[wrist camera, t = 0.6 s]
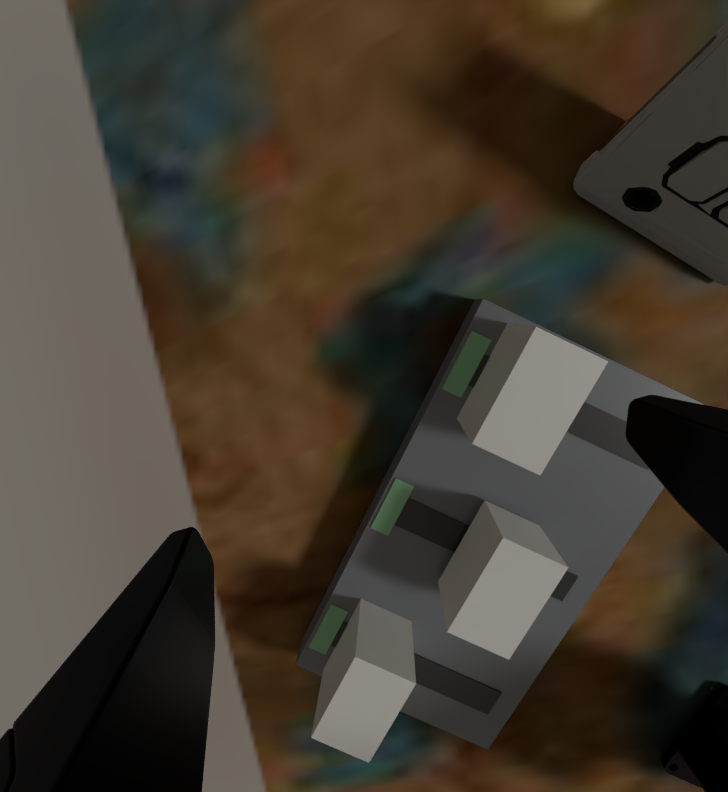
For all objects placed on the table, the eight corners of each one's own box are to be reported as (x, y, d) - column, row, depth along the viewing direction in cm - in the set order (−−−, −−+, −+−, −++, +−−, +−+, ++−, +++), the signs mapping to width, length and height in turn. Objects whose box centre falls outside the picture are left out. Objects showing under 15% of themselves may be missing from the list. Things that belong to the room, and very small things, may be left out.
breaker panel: (686, 401, 22) (793, 434, 16) (480, 716, 26) (506, 831, 21) (474, 299, 21) (506, 296, 16) (302, 638, 26) (277, 732, 20)
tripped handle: (539, 525, 21) (568, 567, 18) (490, 605, 22) (509, 659, 19) (484, 500, 21) (503, 537, 18) (437, 581, 22) (447, 632, 19)
